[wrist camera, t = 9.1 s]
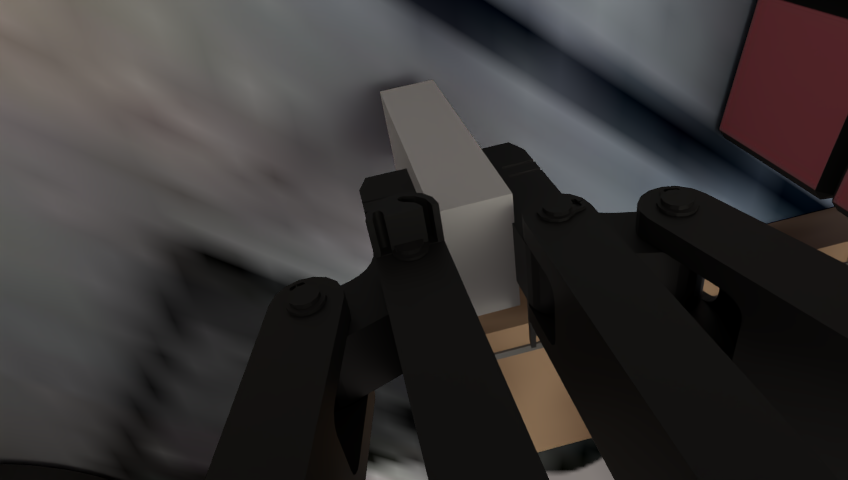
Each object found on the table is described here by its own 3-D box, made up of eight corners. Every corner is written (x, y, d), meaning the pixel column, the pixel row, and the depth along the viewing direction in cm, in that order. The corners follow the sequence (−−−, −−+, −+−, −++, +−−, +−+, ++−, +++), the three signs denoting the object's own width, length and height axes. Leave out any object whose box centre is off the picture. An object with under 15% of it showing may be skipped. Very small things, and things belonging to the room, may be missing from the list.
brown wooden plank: (442, 437, 26) (453, 477, 24) (414, 312, 21) (425, 351, 20) (948, 301, 28) (991, 330, 26) (1023, 159, 23) (1081, 183, 22)
